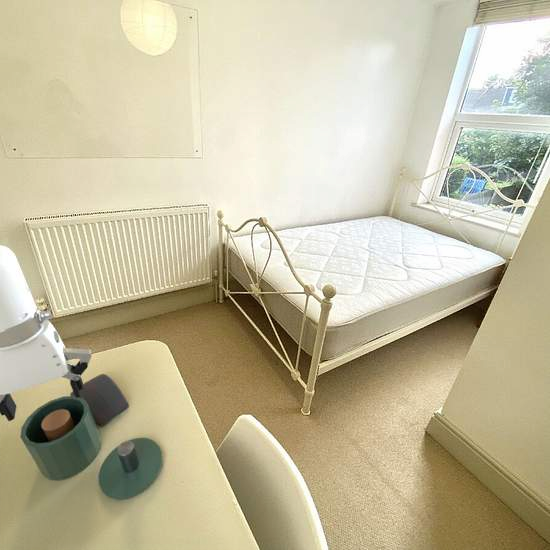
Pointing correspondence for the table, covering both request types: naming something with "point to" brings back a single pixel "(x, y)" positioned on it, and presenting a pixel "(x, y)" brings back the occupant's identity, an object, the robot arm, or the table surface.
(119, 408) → the dark grey flat block
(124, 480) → the tin lid
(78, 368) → the robot arm
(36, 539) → the table surface
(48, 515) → the table surface
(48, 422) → the brown cylinder
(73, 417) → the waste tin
